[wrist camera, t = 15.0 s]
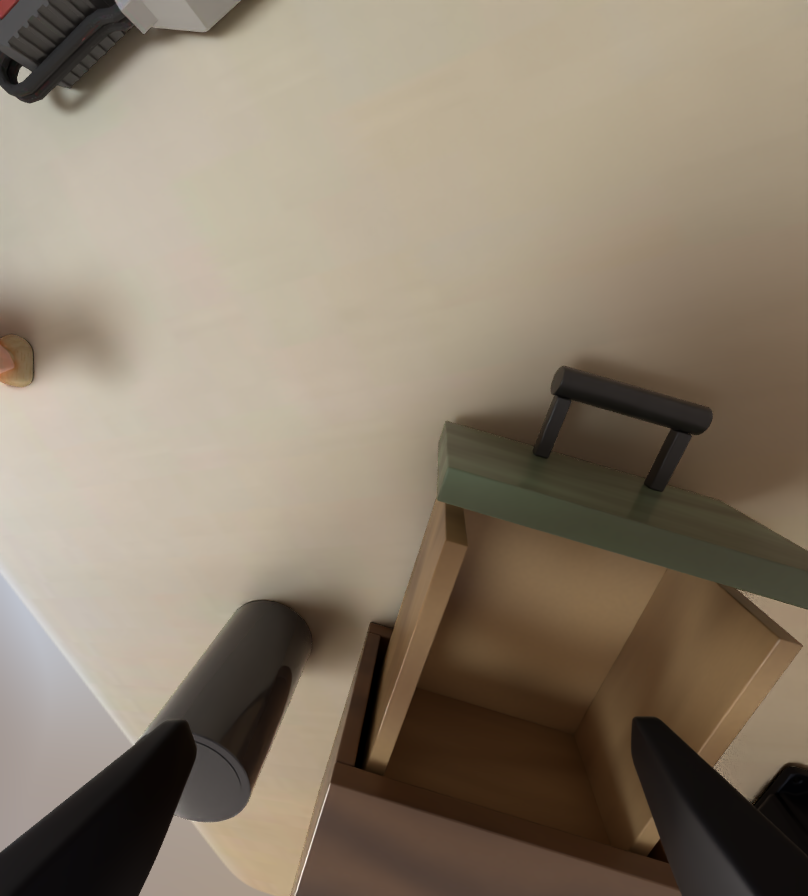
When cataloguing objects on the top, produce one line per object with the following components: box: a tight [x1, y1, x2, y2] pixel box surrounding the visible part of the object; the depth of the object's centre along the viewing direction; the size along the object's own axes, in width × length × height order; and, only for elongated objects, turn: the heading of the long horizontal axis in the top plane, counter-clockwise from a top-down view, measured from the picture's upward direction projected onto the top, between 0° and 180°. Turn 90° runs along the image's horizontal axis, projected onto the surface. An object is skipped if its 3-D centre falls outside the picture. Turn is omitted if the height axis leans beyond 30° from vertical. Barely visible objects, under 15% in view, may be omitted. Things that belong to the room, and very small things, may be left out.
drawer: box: [361, 366, 808, 857], centre depth 16 cm, size 19×13×7 cm
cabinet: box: [290, 623, 682, 896], centre depth 21 cm, size 17×15×9 cm
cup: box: [135, 601, 312, 822], centre depth 20 cm, size 5×5×8 cm
